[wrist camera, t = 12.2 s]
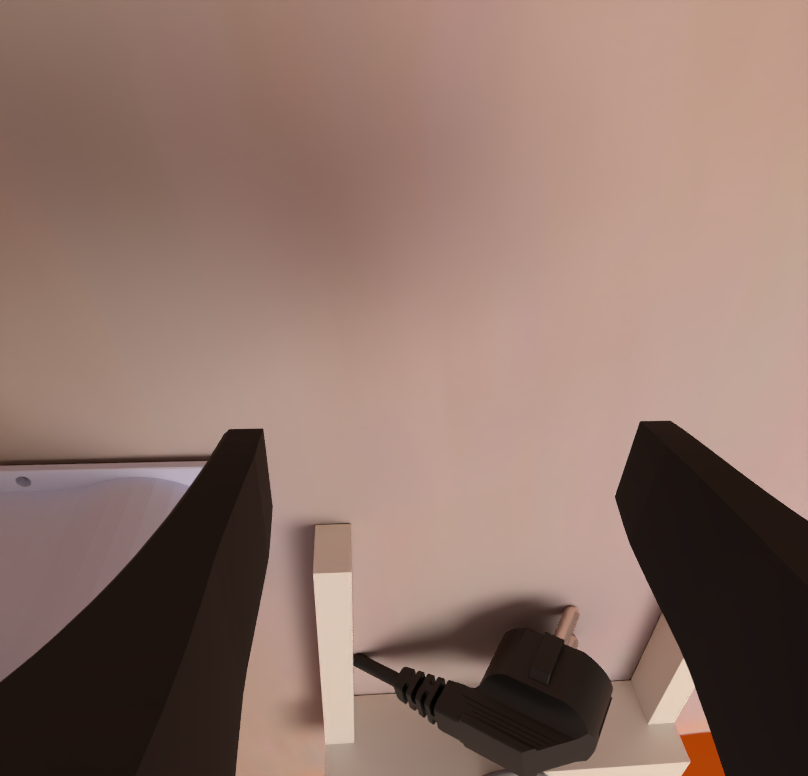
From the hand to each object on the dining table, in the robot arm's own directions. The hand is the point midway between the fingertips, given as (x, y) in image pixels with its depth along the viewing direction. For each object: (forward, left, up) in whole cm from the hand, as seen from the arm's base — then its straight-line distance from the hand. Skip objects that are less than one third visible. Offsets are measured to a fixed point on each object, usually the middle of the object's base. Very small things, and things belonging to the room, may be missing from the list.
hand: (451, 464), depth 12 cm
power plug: (+4, -21, -10) cm, 24 cm away
